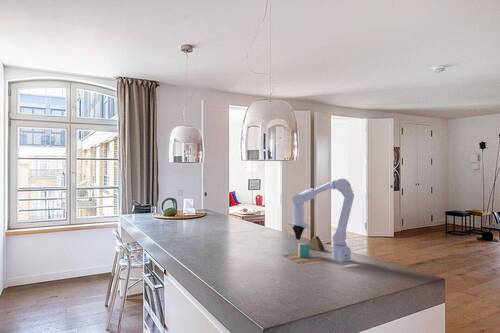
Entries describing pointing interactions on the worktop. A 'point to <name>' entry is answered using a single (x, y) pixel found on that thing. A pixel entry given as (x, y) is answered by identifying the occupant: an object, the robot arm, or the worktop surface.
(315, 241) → the rock
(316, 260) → the board
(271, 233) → the worktop surface
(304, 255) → the tile
